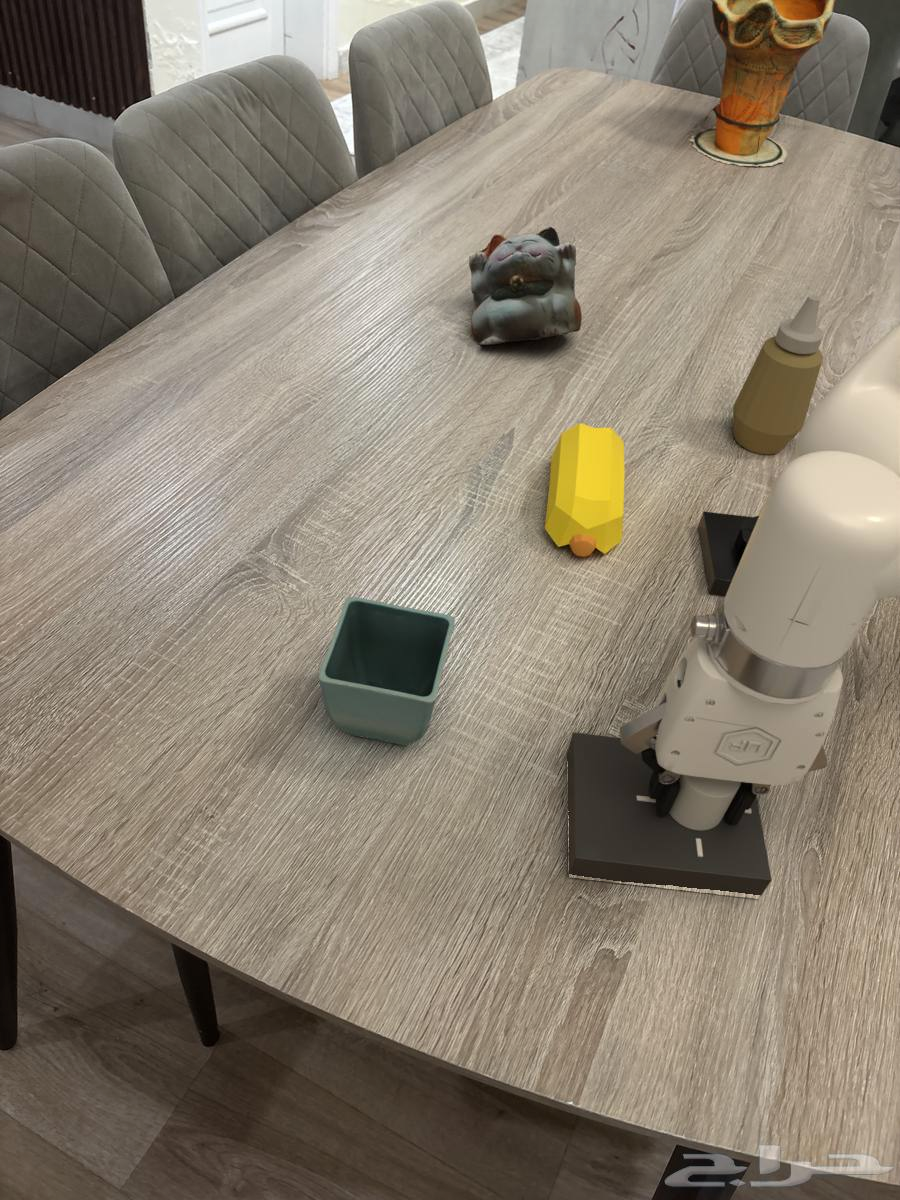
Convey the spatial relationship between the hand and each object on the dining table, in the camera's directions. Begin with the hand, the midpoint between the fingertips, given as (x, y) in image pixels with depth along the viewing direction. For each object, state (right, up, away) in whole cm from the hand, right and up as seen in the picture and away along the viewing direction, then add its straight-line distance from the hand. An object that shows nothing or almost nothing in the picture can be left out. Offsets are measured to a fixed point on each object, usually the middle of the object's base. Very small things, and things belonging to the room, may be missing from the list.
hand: (695, 802), depth 70 cm
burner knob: (0, 0, 0) cm, 0 cm away
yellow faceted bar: (-4, +25, +28) cm, 38 cm away
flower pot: (-24, +5, +7) cm, 25 cm away
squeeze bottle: (+18, +34, +40) cm, 55 cm away
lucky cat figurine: (-10, +50, +52) cm, 73 cm away
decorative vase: (+35, +99, +106) cm, 149 cm away
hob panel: (-2, -2, +2) cm, 4 cm away
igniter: (+13, +18, +24) cm, 33 cm away
